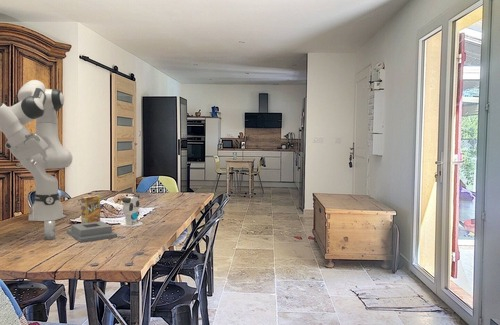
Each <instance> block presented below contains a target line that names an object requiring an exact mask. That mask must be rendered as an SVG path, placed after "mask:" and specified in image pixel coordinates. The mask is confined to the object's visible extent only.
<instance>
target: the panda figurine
mask: <svg viewBox="0 0 500 325" xmlns="http://www.w3.org/2000/svg"><path fill="white" fill-rule="evenodd" d="M122 202H123V203H122V211H123V214H124V219H125V221H124V222H122V223H120V226H121V227H127V228H128V227H129V228H130V227H133V228H134V227H139V226H142V225H143V222H142V221H139V216H140V211H139V209H140V194H139V195H137V194H132V195H131V196H127V197H122Z"/></svg>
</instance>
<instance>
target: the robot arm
mask: <svg viewBox="0 0 500 325" xmlns="http://www.w3.org/2000/svg"><path fill="white" fill-rule="evenodd" d="M17 100H18V102H17V103H15V104H13V105H10V106H7V105H6V104H5V103H3V102H2V103H0V132H1V133H3V135H4V136H5V138H6V139H7V141H6V143H5V144H4V146H5V147H6V149H8V150H9V152H10V153H11V154H12V155H13V156H14V158H15V159H17V160H19V163H20V165H21V166H22V167H23V168H25V169H26V170H27V171H28V172H29V173H30V174H31V175H32V177H33V179H34V185H35V195H34V203H33V205H32V206H31V207H29V212H30V214H28V218H27V219H28V220H27V221H29V222H44V221H47V220H55V221H57V220H60V219H63V218H66V217H67V216H66V214H63V213H64V212H63V202H61V201H60V193H59V180H58V178H57V177H55V176H54V175H52V174H49V173H48V172H46V170H47V169H48V170H49V169H53V170H54V169H55V170H56V169H64V168H69V167H70V166H71V164H72V162H73V155H72V153H71V151H70V150H68V149H67V148H65V147H64V146H63V144H62V143H61V142H60V138H59V121H58V115H57V114H58V113H57V112H59V111H60V109H62V107H63V106H64V102H65V96H64V95H63V91H61V90H60V89H56V88H52V89H51V88H46V85H45V84H44V83H43V82H42V81H41V80H38V79H31V80H29V81H27V82H26V83H24V84H23V85H22V86H21V87H20V89H19V90H18V93H17ZM32 121H35V133H34V132H31V133H30V131H29V130H28V128H26V126H25V125H27V124H28V123H31V122H32Z"/></svg>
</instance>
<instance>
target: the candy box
mask: <svg viewBox="0 0 500 325" xmlns="http://www.w3.org/2000/svg"><path fill="white" fill-rule="evenodd" d="M80 212H81V213H80V217H81V218H80V220H81V223H80V224H82V223H90V222H98V221H101V196H100V195H89V196H83V197H82V196H81V197H80Z"/></svg>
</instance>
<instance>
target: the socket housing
mask: <svg viewBox="0 0 500 325" xmlns="http://www.w3.org/2000/svg"><path fill="white" fill-rule="evenodd" d="M112 228H113V226H112V225H110V224H108V223H106V222H104V221H101V220H100V221H98V222H90V223H82V224H81V223H75V224H71V228H69V229H66V233H67V235H69V236H71V237H72V238H74V239H75V240H77V241H78V242H79V243H81V244H82V243H87V242H94V241H102V240H108V239H115V238H118V233H116V232H114V231H113V229H112Z"/></svg>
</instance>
